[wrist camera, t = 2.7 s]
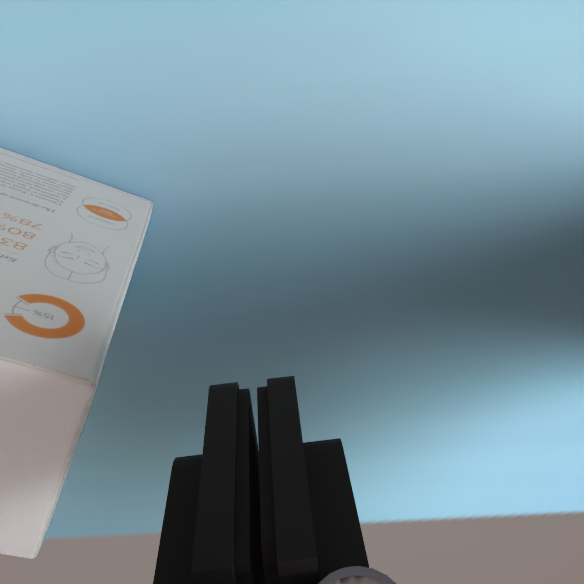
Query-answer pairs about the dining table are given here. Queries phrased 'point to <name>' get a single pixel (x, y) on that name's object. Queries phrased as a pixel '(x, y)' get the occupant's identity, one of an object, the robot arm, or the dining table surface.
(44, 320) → the small box
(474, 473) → the dining table surface
